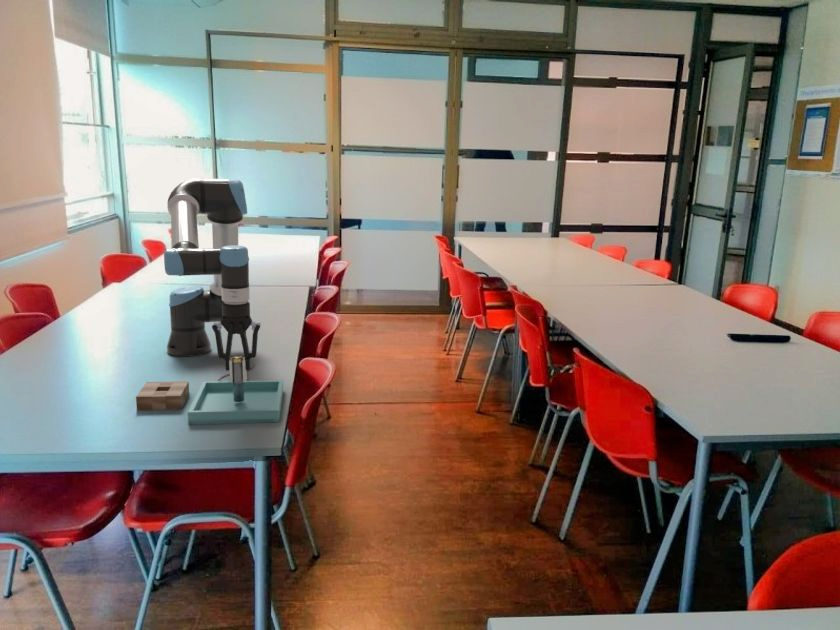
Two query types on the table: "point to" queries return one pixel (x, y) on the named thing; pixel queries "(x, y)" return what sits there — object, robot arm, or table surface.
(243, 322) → the robot arm
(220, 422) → the tray
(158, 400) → the pin block
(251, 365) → the pliers
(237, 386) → the pin
